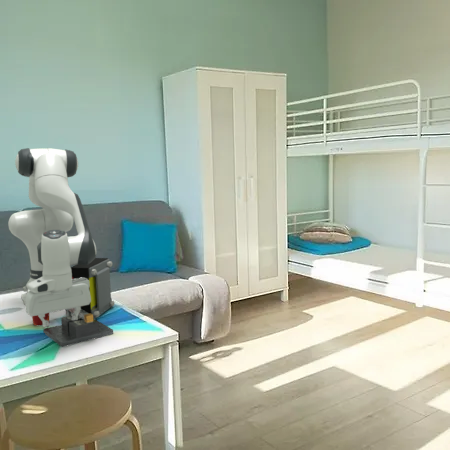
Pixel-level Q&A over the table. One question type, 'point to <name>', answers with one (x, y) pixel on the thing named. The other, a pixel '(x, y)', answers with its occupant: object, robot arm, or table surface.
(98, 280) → the electrical component
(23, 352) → the table surface
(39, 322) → the paper cup
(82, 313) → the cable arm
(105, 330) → the tray
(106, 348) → the table surface
